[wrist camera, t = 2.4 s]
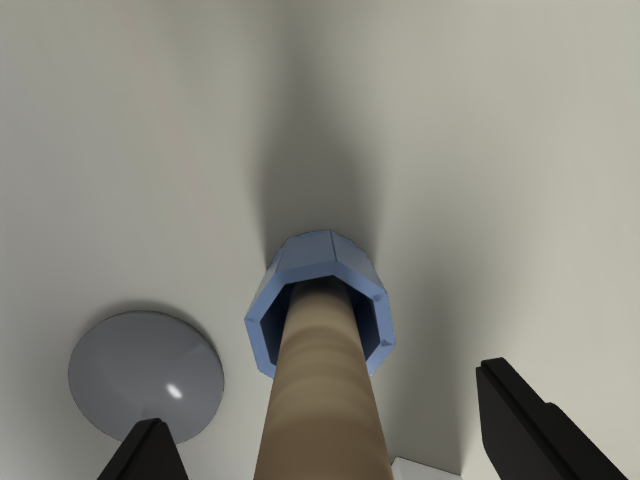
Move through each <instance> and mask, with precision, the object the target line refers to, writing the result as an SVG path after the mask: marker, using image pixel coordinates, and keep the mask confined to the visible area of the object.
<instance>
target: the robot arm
mask: <svg viewBox="0 0 640 480" xmlns="http://www.w3.org/2000/svg"><path fill="white" fill-rule="evenodd" d="M476 379H477V390H478V400H479V411H480V421H481V432H482V441H483V445H484V448H485V451H486V453H487V455H488V457H489V459H490V461H491V463H492V464H493V466H494V468H495V470H496V472H497V473H498V475H499V477H500V479H501V480H628V479H627V478H626V477H625V476H624V475H623V474H622V473H621V472H620V471H619V469H618V468H617V467H616V466H615V465H614V464H613V463H612V462H611V461H610V460H609V459H608V458H607V457H606V456H605V455H604V454H603V453H602V452H601V451H600V450H599V449H598V448H597V446H596V445H595V444H594V443H593V442H592V441H591V440H590V439H589V438H588V437H587V436H586V435H585V434H584V433H583V432H582V431H581V430H580V429H579V428H578V427H577V426H576V425H575V424H574V422H573V421H572V420H571V419H570V418H569V417H568V416H567V415H566V414H565V413H564V412H563V411H562V410H561V409H560V408H559V407H558V406H557V405H555V404H553V403H551V402H549V403H545V402H544V401H543V400H542V399H541V398H540V397H539V396H538V395H537V393H536V392H535V391H534V390H533V389H532V388H531V387H530V386H529V385H528V384H527V383H526V381H525V380H524V379H523V378H522V377H521V376H520V375H519V374H518V373H517V372H516V371H515V369H514V368H513V367H512V366H511V365H510V364H509V363H508V362H507V361H506V360H505V359H504V358H502V357H500V358H494V359H489V360H483V361H481V366H480V367H476ZM97 480H189V479H188V476H187V474H186V471H185V469H184V466H183V463H182V461H181V458H180V456H179V453H178V451H177V448H176V445H175V443H174V440H173V438H172V435H171V433H170V430H169V427H168V425H167V423H166V422H162V420H161V419H160V418H152V419H146V420H141V421H138V422H137V423H136V424H135V425H134V426H133V428H132V429H131V431H130V432H129V434H128V435H127V437H126V438H125V439H124V441H123V442H122V444H121V445H120V447H119V448H118V450H117V451H116V453H115V454H114V455H113V457H112V458H111V460H110V461H109V463H108V464H107V466H106V467H105V469H104V470H103V471H102V473H101V474H100V476H99V477H98V479H97Z"/></svg>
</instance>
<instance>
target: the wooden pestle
mask: <svg viewBox="0 0 640 480" xmlns="http://www.w3.org/2000/svg"><path fill="white" fill-rule="evenodd" d="M253 480H394V477H393V473H392V469H391V465H390V460H389V456H388V452H387V448H386V444H385V440H384V436H383V431H382V427H381V423H380V419H379V415H378V411H377V407H376V402H375V398H374V394H373V390H372V386H371V382H370V378H369V374H368V369H367V365H366V361H365V357H364V353H363V349H362V345H361V340H360V336H359V332H358V328H357V324H356V320H355V316H354V311H353V307H352V303H351V299H350V295H349V291H348V287H347V283H345V282H344V281H342V280H341V279H339V278H338V277H336V276H334V275H329V276H324V277H319V278H314V279H309V280H303V281H298V282H293V286H292V291H291V296H290V301H289V306H288V311H287V316H286V321H285V326H284V331H283V336H282V341H281V346H280V351H279V355H278V360H277V365H276V370H275V375H274V380H273V385H272V390H271V395H270V400H269V405H268V410H267V415H266V419H265V424H264V429H263V434H262V439H261V444H260V449H259V454H258V459H257V464H256V469H255V474H254V479H253Z"/></svg>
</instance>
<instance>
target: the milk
mask: <svg viewBox="0 0 640 480" xmlns="http://www.w3.org/2000/svg"><path fill="white" fill-rule="evenodd" d="M391 469H392V473H393V477H394V480H463V479H462V477H461V476H458V475H455V474H451V473H448V472H445V471H442V470H438V469H435V468H432V467H429V466H425V465H422V464H419V463H416V462H412V461H409V460H406V459H403V458H399V457H396V458H395V460H394V462H393V464H392V466H391Z"/></svg>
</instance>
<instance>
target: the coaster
mask: <svg viewBox="0 0 640 480" xmlns="http://www.w3.org/2000/svg"><path fill="white" fill-rule="evenodd" d="M68 378H69V385H70V390H71V393H72V395H73V398H74V400H75V402H76V404H77V406H78V408H79V409H80V410H81V412H82V413H83V415H84V416H85V417H86V418H87V419H88V420H89V421H90V422H91V423H92V424H93V425H94V426H95V427H97V428H98V429H99V430H101V431H102V432H104V433H105V434H107V435H109V436H111V437H112V438H115V439H117V440H119V441H121V442H123V441H124V439H125V438H126V437H127V435H128V434H129V432H130V431H131V429H132V428H133V426H134V425H135V424H136V423H137V422H138V421H141V420H146V419H152V418H160V419H161V420H162V422H166V423H167V425H168V427H169V430H170V433H171V435H172V438H173V440H174V443H175V444H179V443H181V442H184V441H187V440H188V439H190V438H192V437H194V436H195V435H197V434H198V433H200V432H201V431H202V430H203V429H204V428H205V427H206V426H207V425H208V424H209V423H210V421H211V420H212V419H213V417H214V415H215V413H216V411H217V409H218V406H219V404H220V401H221V399H222V395H223V390H224V374H223V369H222V365H221V362H220V360H219V357H218V355H217V353H216V352H215V350H214V348H213V347H212V346H211V344H210V343H209V341H208V340H207V339H206V338H205V337H204V336H203V335H202V334H201V333H200V332H198V331H197V330H196V329H195V328H193V327H192V326H190V325H189V324H187V323H186V322H184V321H182V320H180V319H178V318H175V317H172V316H170V315H167V314H163V313H158V312H152V311H132V312H125V313H121V314H118V315H115V316H113V317H110V318H108V319H106V320H104V321H103V322H101V323H99V324H98V325H97V326H95V327H94V328H93V329H91V330H90V331H89V332H88V333H86V334H85V335H84V337H83V338H82V339H81V340H80V341H79V342H78V344H77V345H76V347H75V349H74V351H73V353H72V355H71V359H70V363H69V370H68Z"/></svg>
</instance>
